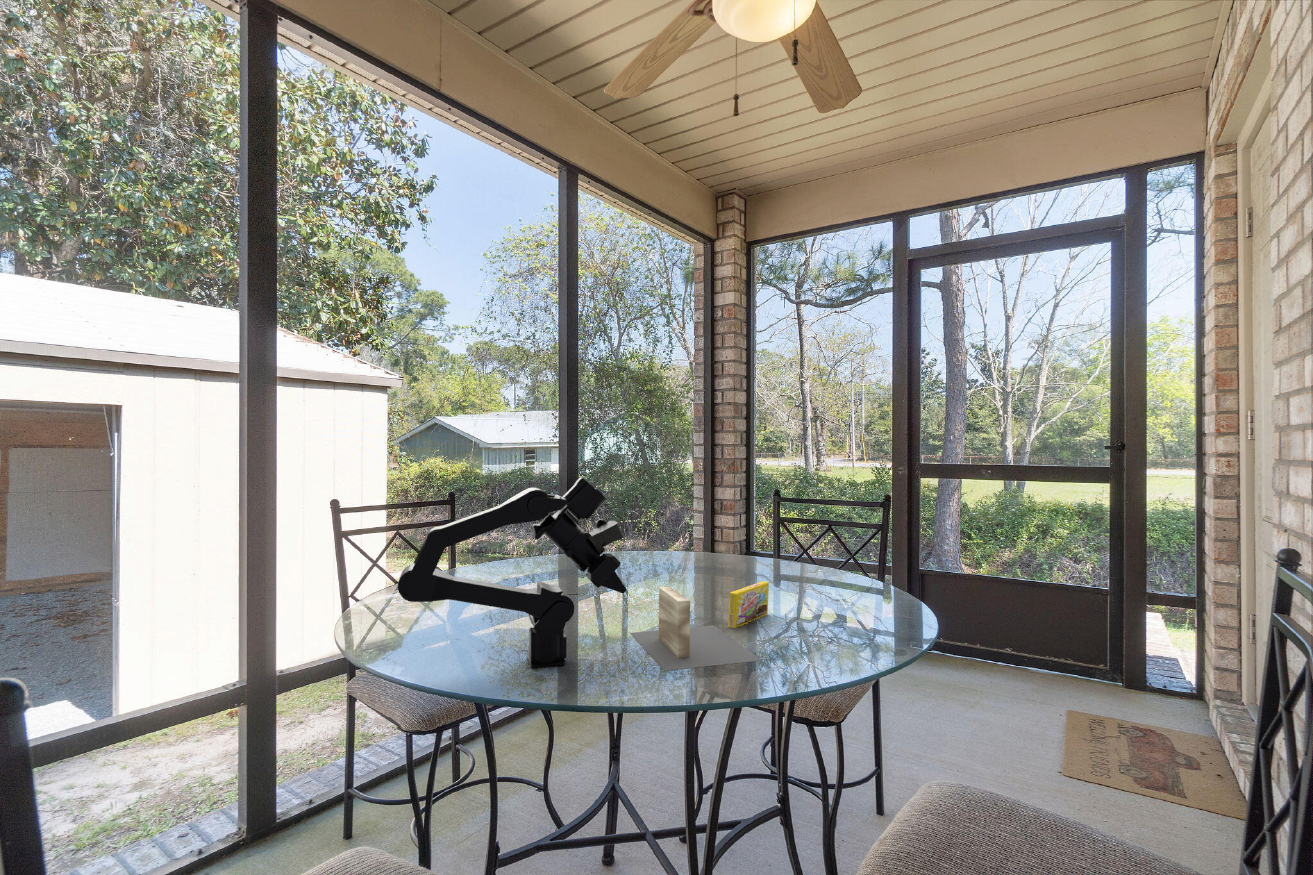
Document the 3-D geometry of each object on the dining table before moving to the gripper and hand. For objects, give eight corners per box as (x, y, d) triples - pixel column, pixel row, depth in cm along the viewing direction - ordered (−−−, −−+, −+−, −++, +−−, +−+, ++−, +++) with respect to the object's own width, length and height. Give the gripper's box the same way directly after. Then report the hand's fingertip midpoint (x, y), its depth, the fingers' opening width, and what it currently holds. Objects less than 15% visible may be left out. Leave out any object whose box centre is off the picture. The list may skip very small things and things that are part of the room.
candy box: (735, 630, 144) (736, 593, 144) (727, 628, 146) (727, 592, 146) (769, 615, 157) (769, 581, 157) (761, 613, 159) (761, 580, 159)
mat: (664, 672, 118) (664, 670, 118) (629, 634, 140) (629, 632, 140) (762, 661, 124) (762, 660, 124) (713, 626, 147) (713, 625, 147)
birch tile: (677, 657, 125) (678, 601, 125) (658, 639, 136) (659, 587, 136) (689, 656, 126) (690, 600, 126) (669, 638, 137) (670, 586, 137)
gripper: (610, 513, 117) (666, 570, 121) (588, 503, 135) (638, 553, 138) (567, 558, 115) (625, 614, 118) (551, 542, 132) (602, 591, 136)
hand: (624, 590), depth 128 cm, fingers closed
